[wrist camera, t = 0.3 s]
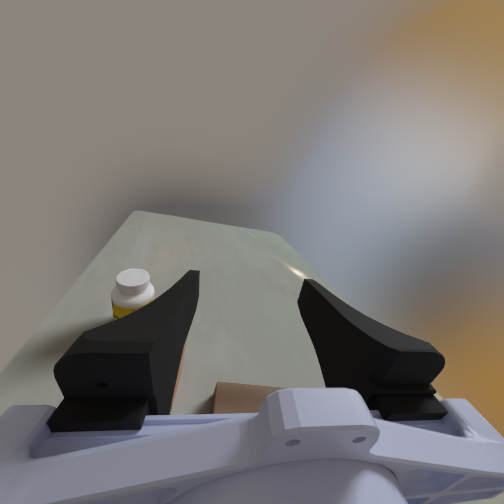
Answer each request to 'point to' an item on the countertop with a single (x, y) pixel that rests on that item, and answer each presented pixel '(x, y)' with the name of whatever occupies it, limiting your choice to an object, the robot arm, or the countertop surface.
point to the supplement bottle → (131, 292)
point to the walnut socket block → (239, 398)
